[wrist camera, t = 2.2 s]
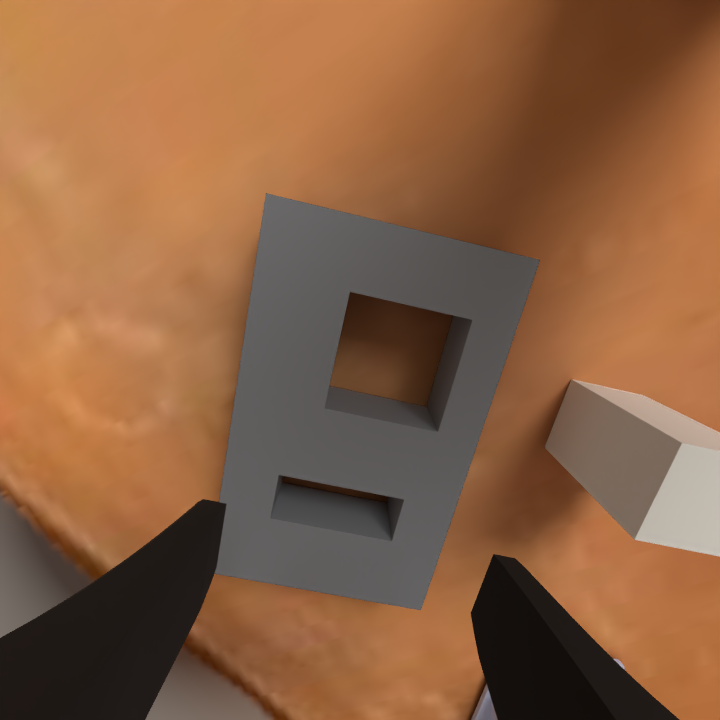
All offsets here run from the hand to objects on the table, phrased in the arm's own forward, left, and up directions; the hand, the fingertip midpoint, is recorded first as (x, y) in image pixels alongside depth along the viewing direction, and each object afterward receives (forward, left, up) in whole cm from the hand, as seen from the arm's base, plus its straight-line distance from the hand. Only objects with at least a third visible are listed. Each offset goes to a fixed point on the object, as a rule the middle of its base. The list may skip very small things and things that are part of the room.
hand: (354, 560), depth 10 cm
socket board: (0, 0, -10) cm, 10 cm away
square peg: (+2, -12, -10) cm, 16 cm away
